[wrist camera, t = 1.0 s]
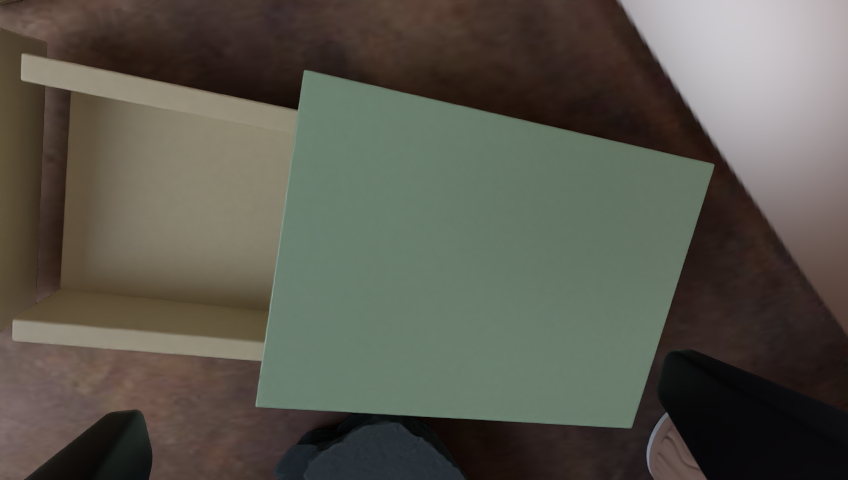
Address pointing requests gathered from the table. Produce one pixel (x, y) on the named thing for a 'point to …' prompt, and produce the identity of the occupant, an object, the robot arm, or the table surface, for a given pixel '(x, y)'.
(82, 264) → the drawer
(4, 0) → the banana
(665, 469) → the coffee cup
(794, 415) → the robot arm
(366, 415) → the stone
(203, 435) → the table surface
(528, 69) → the table surface
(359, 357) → the cabinet
